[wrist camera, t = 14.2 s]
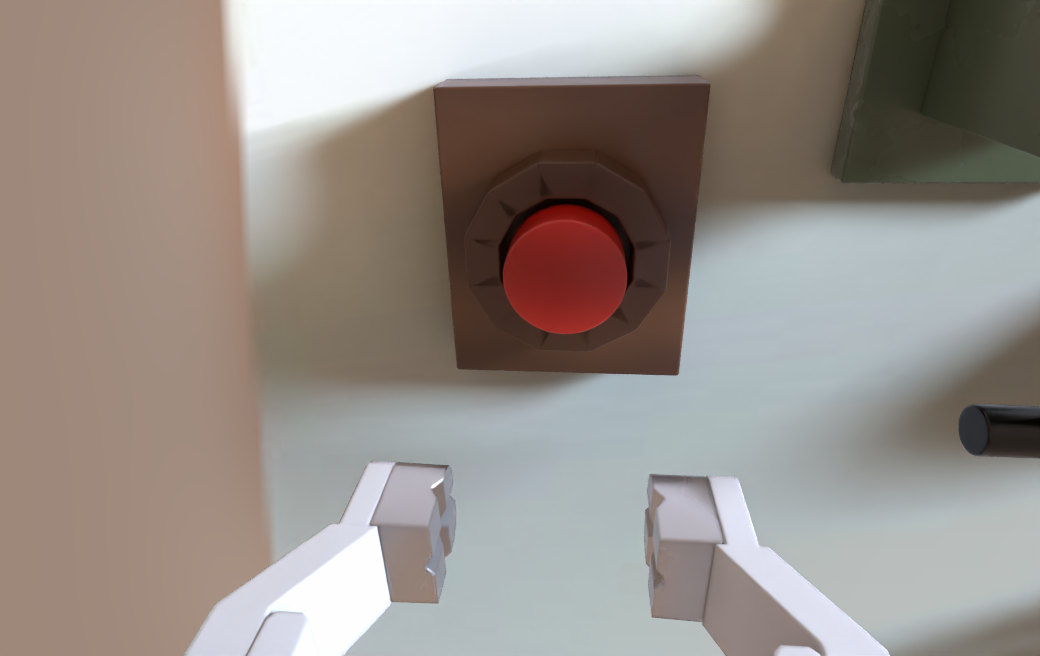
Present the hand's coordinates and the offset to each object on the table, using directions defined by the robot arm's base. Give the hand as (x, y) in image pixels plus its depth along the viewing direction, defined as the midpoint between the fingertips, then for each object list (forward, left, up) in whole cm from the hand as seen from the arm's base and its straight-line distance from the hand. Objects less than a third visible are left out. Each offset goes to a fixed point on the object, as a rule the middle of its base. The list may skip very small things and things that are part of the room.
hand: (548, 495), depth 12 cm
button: (0, 0, -12) cm, 12 cm away
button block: (0, 0, -15) cm, 15 cm away
